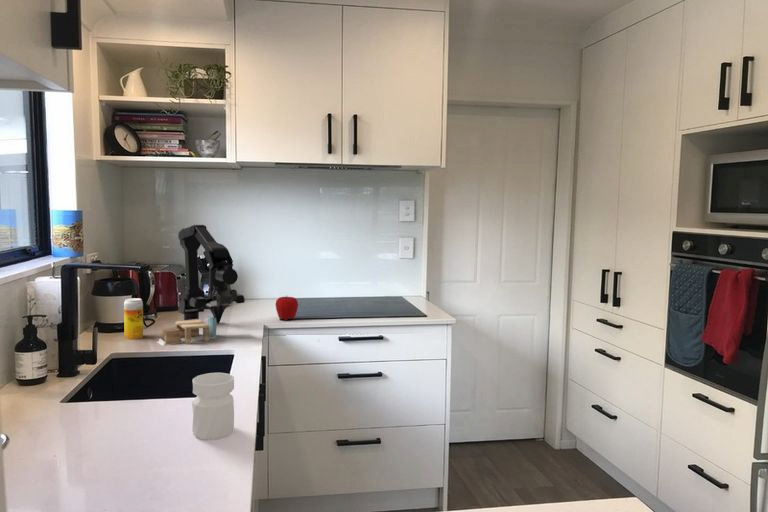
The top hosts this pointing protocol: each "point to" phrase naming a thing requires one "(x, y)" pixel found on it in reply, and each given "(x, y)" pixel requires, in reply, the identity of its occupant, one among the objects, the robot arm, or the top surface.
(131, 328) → the beer can
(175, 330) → the block
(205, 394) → the pill bottle
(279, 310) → the apple
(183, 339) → the sled
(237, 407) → the top surface
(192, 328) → the tunnel
